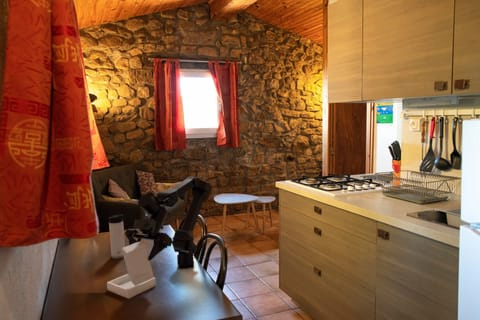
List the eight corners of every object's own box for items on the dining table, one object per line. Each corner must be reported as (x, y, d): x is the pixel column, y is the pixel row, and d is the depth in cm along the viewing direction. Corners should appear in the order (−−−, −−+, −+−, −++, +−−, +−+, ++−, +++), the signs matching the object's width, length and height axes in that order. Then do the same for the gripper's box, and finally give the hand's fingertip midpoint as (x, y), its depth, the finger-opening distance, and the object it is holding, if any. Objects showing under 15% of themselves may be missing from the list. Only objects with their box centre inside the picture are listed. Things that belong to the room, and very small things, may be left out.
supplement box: (154, 278, 136) (146, 245, 134) (134, 286, 133) (126, 253, 130) (148, 271, 142) (140, 240, 140) (129, 279, 139) (120, 247, 136)
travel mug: (121, 259, 173) (118, 216, 171) (108, 258, 175) (105, 216, 173) (128, 254, 180) (125, 213, 177) (115, 253, 181) (112, 212, 179)
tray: (134, 278, 152) (134, 270, 151) (155, 285, 144) (155, 277, 144) (107, 290, 142) (106, 282, 141) (128, 298, 134) (127, 290, 134)
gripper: (125, 208, 143) (106, 245, 135) (165, 211, 135) (147, 252, 127) (141, 222, 151) (123, 258, 143) (179, 226, 143) (163, 265, 134)
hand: (138, 258), depth 136 cm, fingers closed on supplement box, 9 cm apart
